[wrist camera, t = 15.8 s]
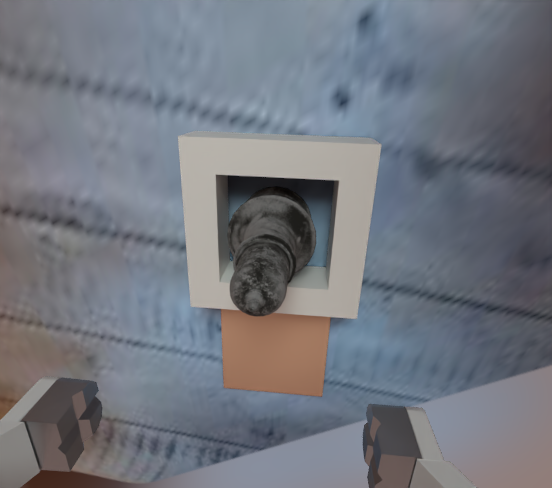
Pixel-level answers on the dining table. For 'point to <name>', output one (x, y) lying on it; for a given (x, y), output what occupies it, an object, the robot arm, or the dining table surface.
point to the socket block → (282, 164)
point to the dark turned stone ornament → (268, 248)
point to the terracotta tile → (274, 352)
